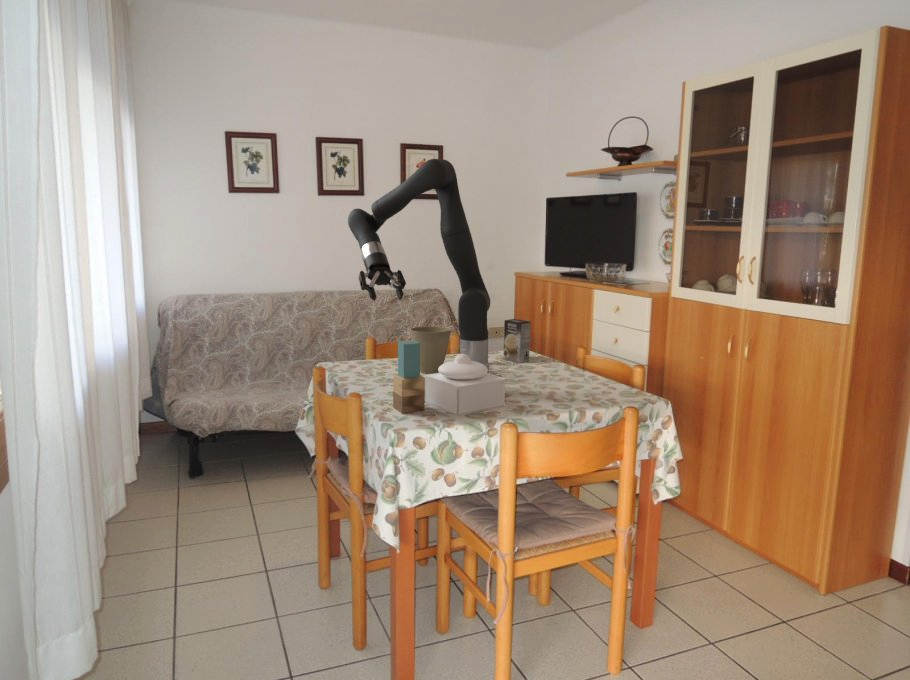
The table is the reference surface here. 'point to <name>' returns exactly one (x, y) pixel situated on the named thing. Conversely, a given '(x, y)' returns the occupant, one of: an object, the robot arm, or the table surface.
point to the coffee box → (516, 340)
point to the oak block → (408, 386)
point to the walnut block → (408, 403)
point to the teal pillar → (409, 359)
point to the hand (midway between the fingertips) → (387, 298)
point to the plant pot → (431, 346)
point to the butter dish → (464, 387)
